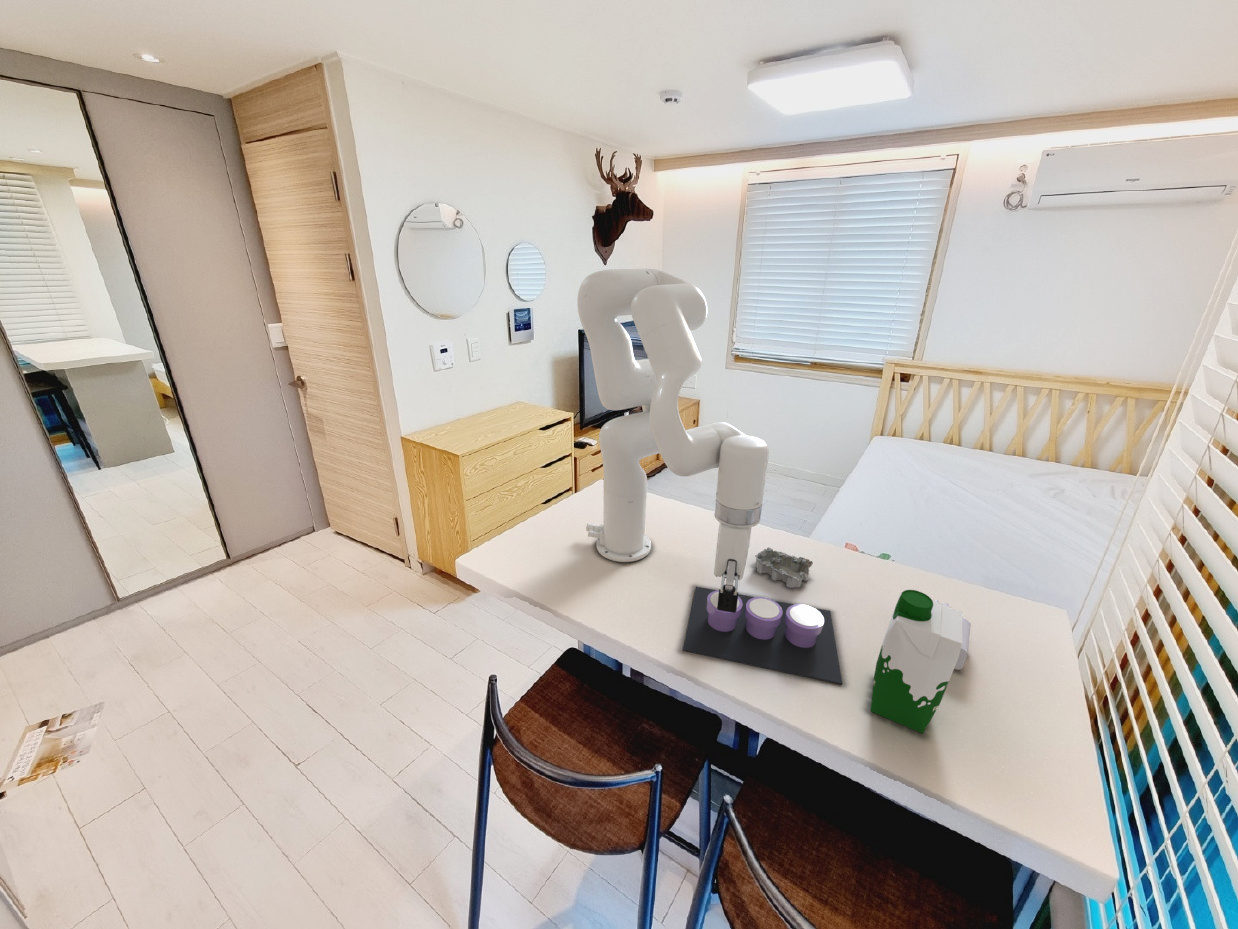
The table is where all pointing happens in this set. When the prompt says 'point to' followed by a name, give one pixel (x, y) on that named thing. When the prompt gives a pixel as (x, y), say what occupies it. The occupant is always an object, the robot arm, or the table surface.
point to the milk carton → (916, 660)
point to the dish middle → (762, 617)
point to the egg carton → (783, 567)
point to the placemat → (763, 643)
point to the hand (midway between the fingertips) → (728, 593)
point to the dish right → (803, 625)
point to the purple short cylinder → (721, 614)
